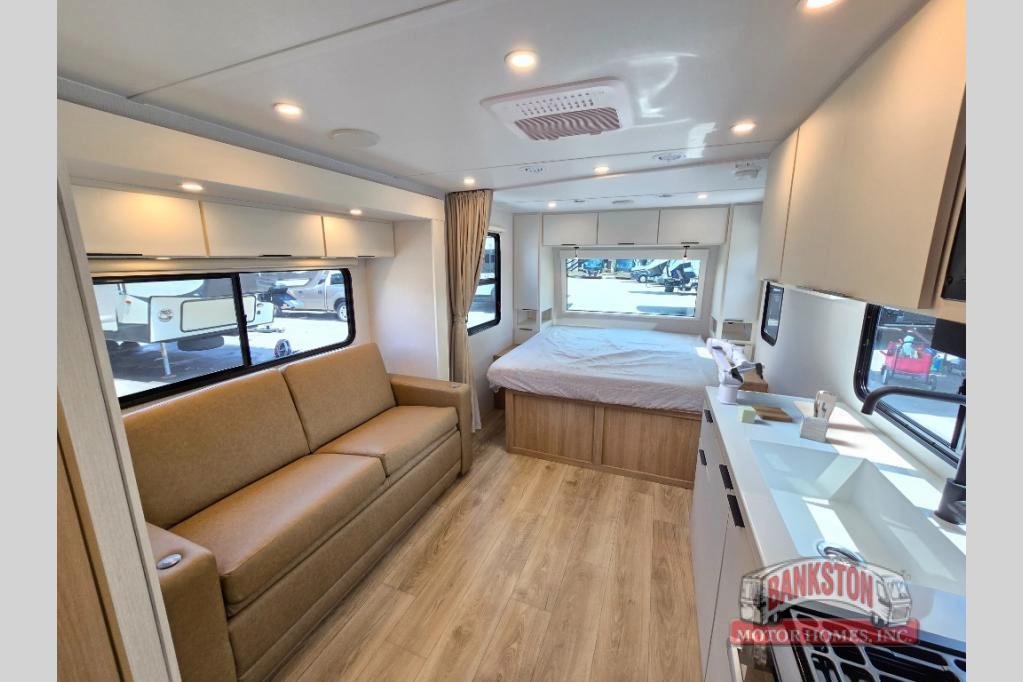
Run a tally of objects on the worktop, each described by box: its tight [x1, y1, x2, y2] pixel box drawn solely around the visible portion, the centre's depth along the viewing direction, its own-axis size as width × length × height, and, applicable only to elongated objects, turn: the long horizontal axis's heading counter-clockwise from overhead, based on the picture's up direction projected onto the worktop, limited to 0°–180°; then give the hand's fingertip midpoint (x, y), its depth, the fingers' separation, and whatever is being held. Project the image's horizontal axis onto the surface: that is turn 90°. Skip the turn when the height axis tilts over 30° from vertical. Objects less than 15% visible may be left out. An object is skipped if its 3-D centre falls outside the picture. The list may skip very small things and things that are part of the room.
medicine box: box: [798, 414, 830, 444], centre depth 144 cm, size 8×4×9 cm, turn 56°
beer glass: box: [813, 389, 838, 424], centre depth 155 cm, size 7×7×15 cm
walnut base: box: [750, 404, 794, 424], centre depth 165 cm, size 12×12×2 cm
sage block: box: [736, 404, 757, 425], centre depth 159 cm, size 5×5×6 cm
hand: (752, 379), depth 156 cm, fingers open, 7 cm apart
